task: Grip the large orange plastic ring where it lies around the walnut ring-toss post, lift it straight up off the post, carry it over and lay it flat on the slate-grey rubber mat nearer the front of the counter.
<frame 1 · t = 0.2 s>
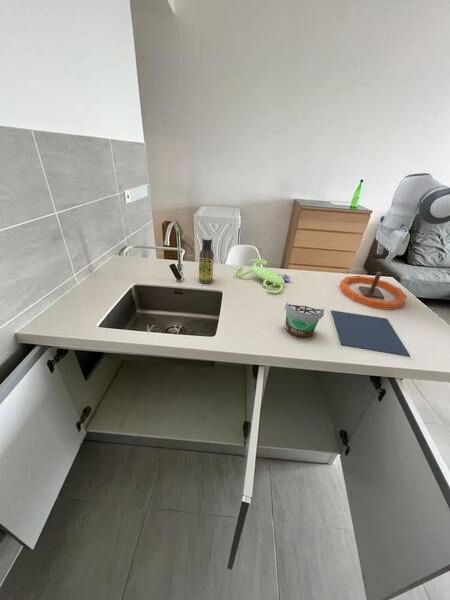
hand: (382, 257, 96), 18 cm above the worktop, tool pointing down, fingers open, 8 cm apart
mat: (365, 331, 84), on the worktop
sauce bottle: (205, 281, 110), on the worktop
figurine: (262, 279, 115), on the worktop
food container: (298, 334, 81), on the worktop
ring: (370, 293, 108), on the worktop
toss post: (370, 293, 108), on the worktop
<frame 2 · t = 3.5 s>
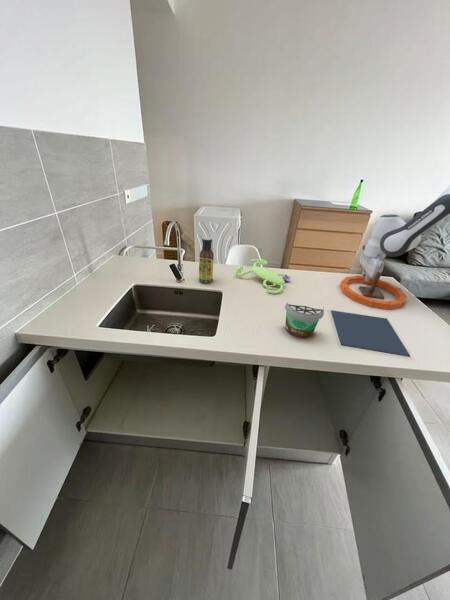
hand: (364, 279, 116), 2 cm above the worktop, tool pointing down, fingers closed on ring, 2 cm apart
ring: (370, 293, 108), on the worktop, touching gripper
everything else where it was.
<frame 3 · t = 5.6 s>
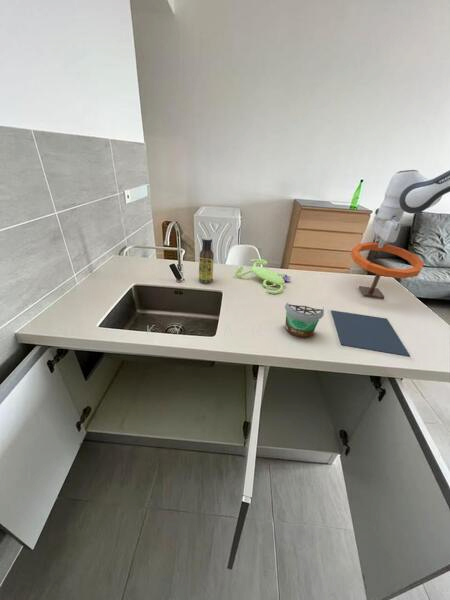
hand: (378, 246, 108), 18 cm above the worktop, tool pointing down, fingers closed on ring, 2 cm apart
ring: (384, 261, 100), point 15 cm above the worktop, tilted 7°, touching gripper
everything else where it was.
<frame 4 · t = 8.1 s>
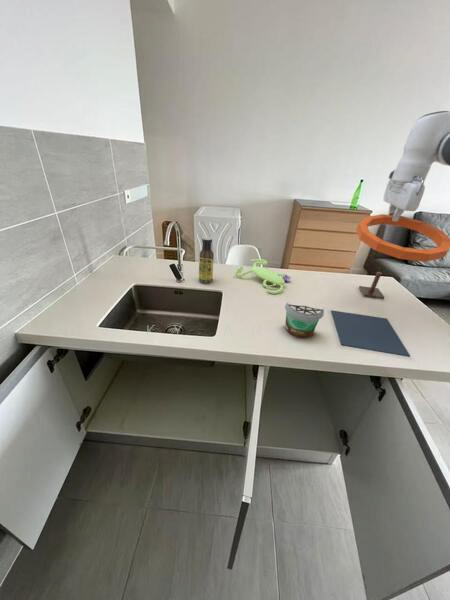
hand: (391, 219, 85), 33 cm above the worktop, tool pointing down, fingers closed on ring, 2 cm apart
ring: (399, 239, 78), point 29 cm above the worktop, tilted 12°, touching gripper
everything else where it was.
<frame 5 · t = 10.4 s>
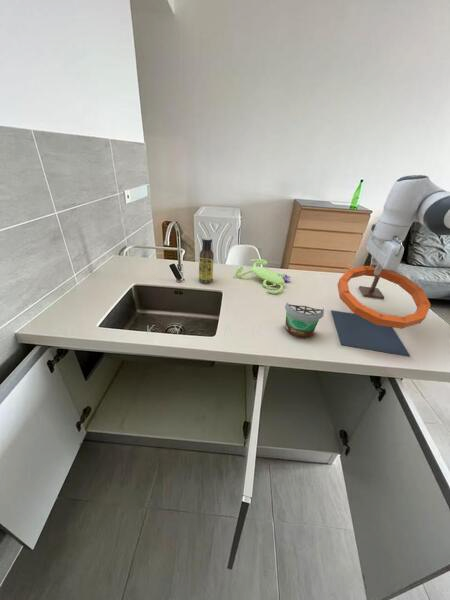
hand: (373, 271, 84), 18 cm above the worktop, tool pointing down, fingers closed on ring, 2 cm apart
ring: (379, 296, 78), point 13 cm above the worktop, tilted 14°, touching gripper
everything else where it was.
when the fingers open (3 cm above the worktop, at t = 12.7 s): ring stays where it is, resting on mat.
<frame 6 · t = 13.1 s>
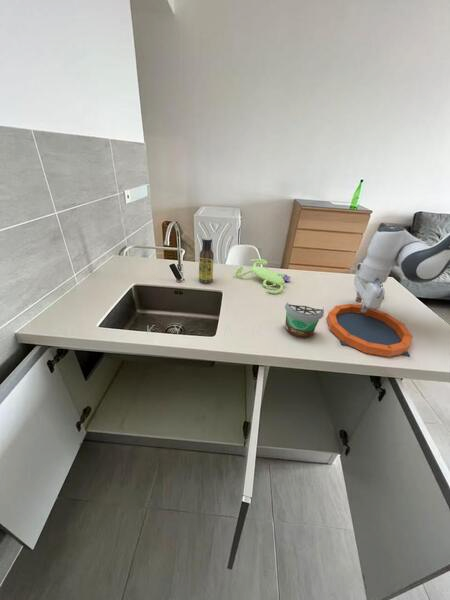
hand: (360, 306, 92), 3 cm above the worktop, tool pointing down, fingers open, 6 cm apart
ring: (365, 329, 84), resting on mat
everything else where it was.
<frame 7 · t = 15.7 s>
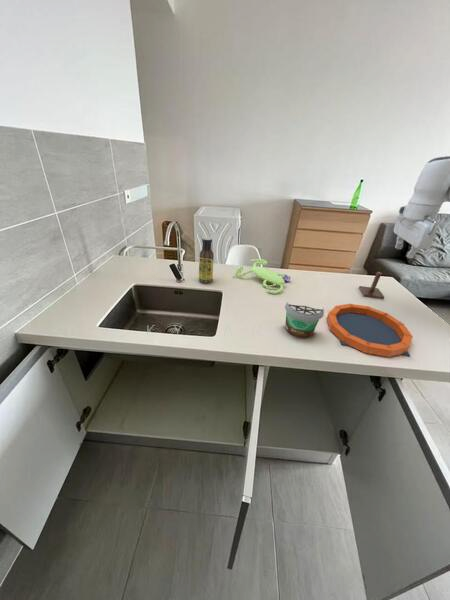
hand: (403, 252, 87), 23 cm above the worktop, tool pointing down, fingers open, 8 cm apart
nothing on the worktop moved.
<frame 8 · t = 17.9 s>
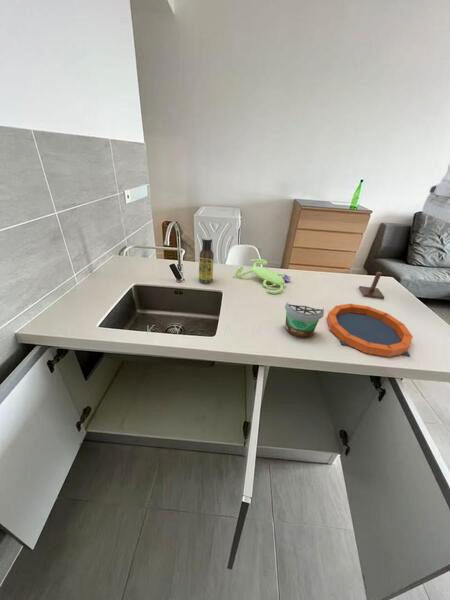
hand: (432, 231, 91), 29 cm above the worktop, tool pointing down, fingers open, 8 cm apart
nothing on the worktop moved.
at the end: ring inside the target area on the mat (0.1 cm from its centre), point 0.4 cm above the mat's base; the gripper is holding nothing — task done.
